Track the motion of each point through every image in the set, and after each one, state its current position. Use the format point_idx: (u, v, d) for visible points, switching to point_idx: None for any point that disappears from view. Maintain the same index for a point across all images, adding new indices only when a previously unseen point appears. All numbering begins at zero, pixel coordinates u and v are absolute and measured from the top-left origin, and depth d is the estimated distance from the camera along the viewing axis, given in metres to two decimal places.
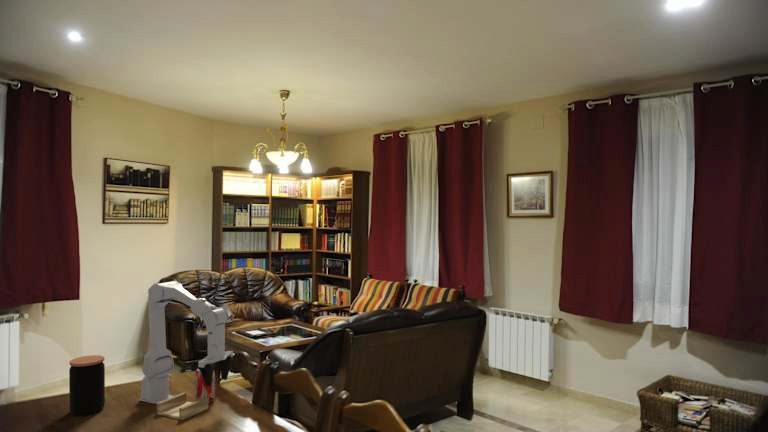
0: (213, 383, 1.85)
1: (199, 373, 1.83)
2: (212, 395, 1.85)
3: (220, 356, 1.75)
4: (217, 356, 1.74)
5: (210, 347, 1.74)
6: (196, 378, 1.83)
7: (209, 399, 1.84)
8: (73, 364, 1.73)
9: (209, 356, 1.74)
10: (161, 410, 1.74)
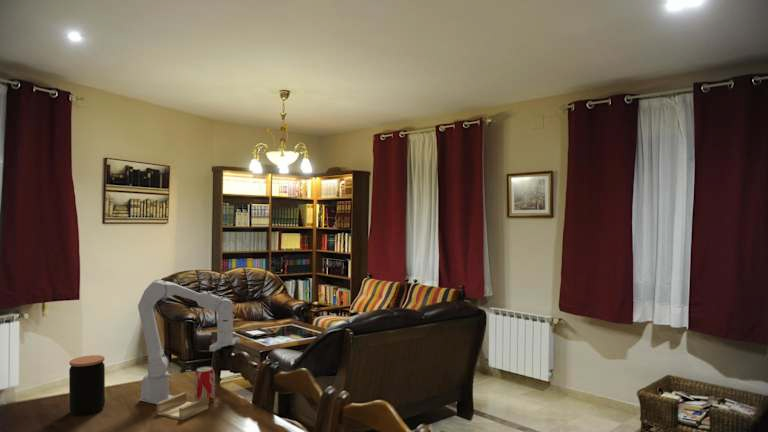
0: (213, 383, 1.85)
1: (199, 373, 1.83)
2: (212, 395, 1.85)
3: (229, 341, 1.94)
4: (226, 341, 1.93)
5: (220, 333, 1.93)
6: (196, 378, 1.83)
7: (209, 399, 1.84)
8: (73, 364, 1.73)
9: (219, 341, 1.93)
10: (161, 410, 1.74)
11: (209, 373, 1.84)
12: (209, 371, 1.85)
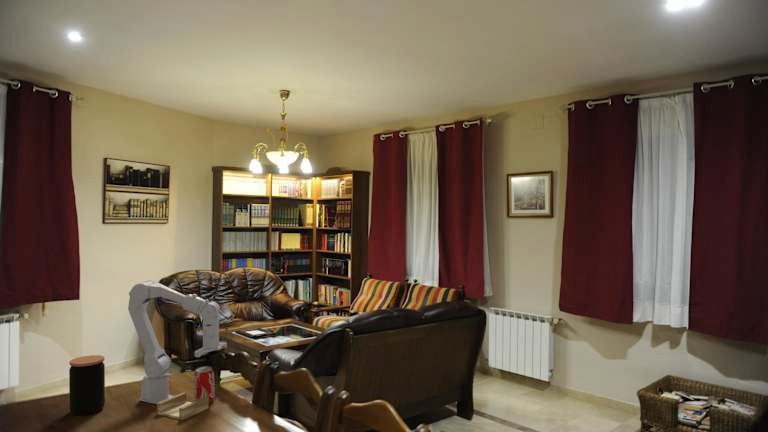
0: (212, 383, 1.85)
1: (198, 374, 1.83)
2: (212, 395, 1.85)
3: (215, 346, 1.87)
4: (212, 346, 1.86)
5: (205, 338, 1.86)
6: (195, 379, 1.83)
7: (209, 399, 1.84)
8: (73, 364, 1.73)
9: (204, 346, 1.87)
10: (161, 410, 1.74)
11: (208, 373, 1.84)
12: (208, 371, 1.84)
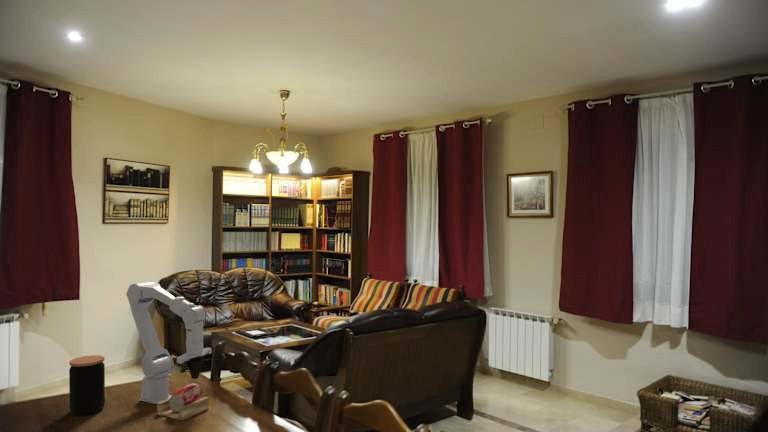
0: (192, 393, 1.77)
1: None
2: (199, 391, 1.81)
3: (198, 352, 1.80)
4: (195, 352, 1.79)
5: (188, 344, 1.79)
6: None
7: (201, 393, 1.82)
8: (73, 364, 1.73)
9: (187, 352, 1.79)
10: (161, 410, 1.74)
11: (186, 401, 1.73)
12: (184, 402, 1.73)
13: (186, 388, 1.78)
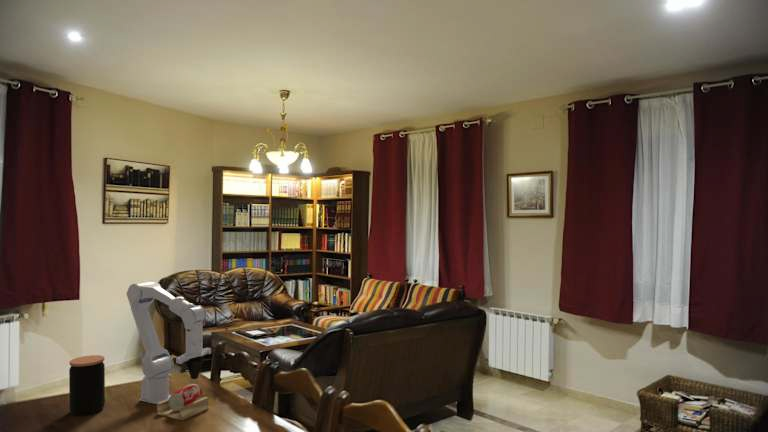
0: (191, 392, 1.78)
1: None
2: (199, 390, 1.82)
3: (198, 353, 1.80)
4: (195, 353, 1.79)
5: (188, 344, 1.79)
6: None
7: (201, 393, 1.83)
8: (73, 364, 1.73)
9: (187, 353, 1.79)
10: (161, 410, 1.74)
11: (185, 400, 1.73)
12: (184, 400, 1.73)
13: (185, 388, 1.78)
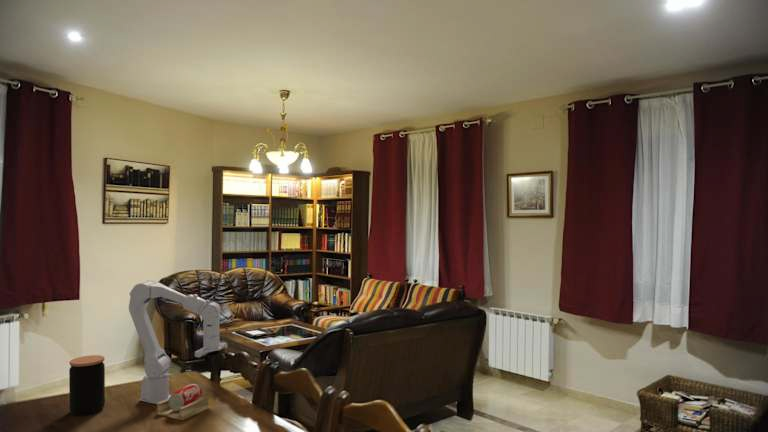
0: (191, 392, 1.78)
1: None
2: (199, 390, 1.82)
3: (215, 347, 1.87)
4: (212, 347, 1.87)
5: (206, 338, 1.87)
6: None
7: (201, 393, 1.83)
8: (73, 364, 1.73)
9: (205, 347, 1.87)
10: (161, 410, 1.74)
11: (185, 400, 1.73)
12: (184, 400, 1.73)
13: (185, 388, 1.78)
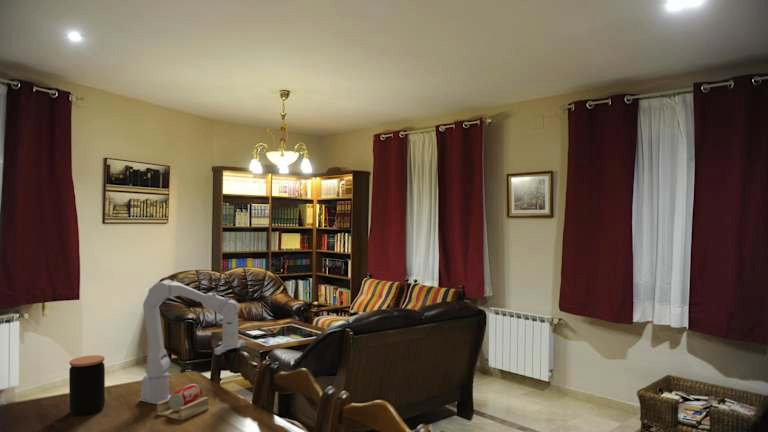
0: (191, 392, 1.78)
1: None
2: (199, 390, 1.82)
3: (234, 344, 1.89)
4: (231, 344, 1.89)
5: (225, 336, 1.89)
6: None
7: (201, 393, 1.83)
8: (73, 364, 1.73)
9: (224, 344, 1.89)
10: (161, 410, 1.74)
11: (185, 400, 1.73)
12: (184, 400, 1.73)
13: (185, 388, 1.78)
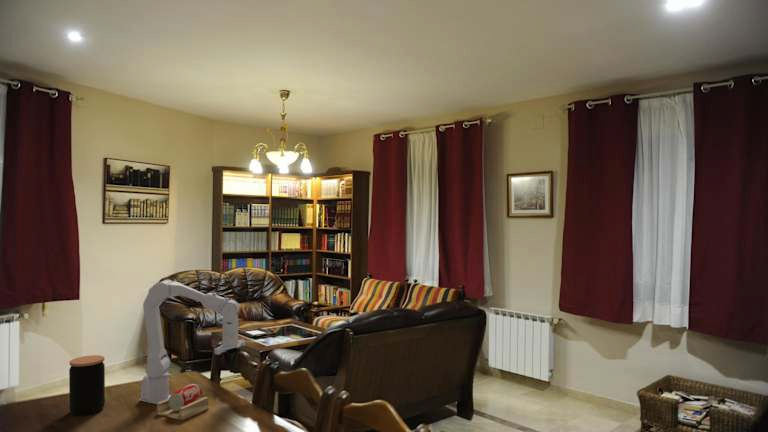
0: (191, 392, 1.78)
1: None
2: (199, 390, 1.82)
3: (234, 344, 1.89)
4: (231, 344, 1.89)
5: (225, 336, 1.89)
6: None
7: (201, 393, 1.83)
8: (73, 364, 1.73)
9: (224, 344, 1.89)
10: (161, 410, 1.74)
11: (185, 400, 1.73)
12: (184, 400, 1.73)
13: (185, 388, 1.78)
